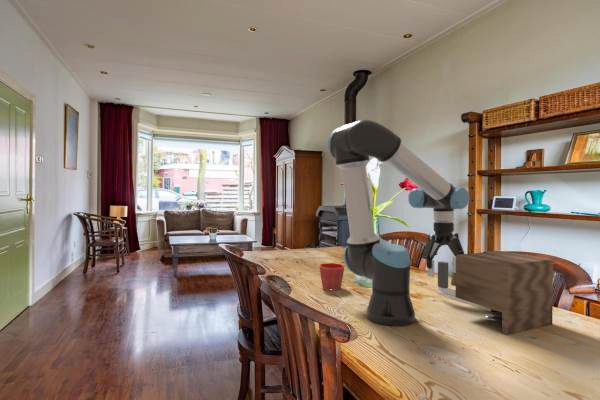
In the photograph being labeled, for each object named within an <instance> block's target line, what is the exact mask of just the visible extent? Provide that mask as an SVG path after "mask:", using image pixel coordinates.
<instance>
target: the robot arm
mask: <svg viewBox="0 0 600 400" xmlns="http://www.w3.org/2000/svg"><path fill="white" fill-rule="evenodd" d="M327 149H328V150H327V151H328V153H329V154H330V155H331V157H332V158H334V159H335V166H336V167H337V168H338V169H340V170H341V171H340V172H341V179H342V185H343V191H344V192H343V194H344V200H345V206H346V207H345V208H346V214H347V220H348V229H349V237H348V239H346V245H347V246H346V247H345V249H344V251H343V263H344V266H345V267H346V269H348V270H349V272H351V273H353V274H355V275H356V276H360V277H364V278H367V279H369V280H371V282H372V284H371V287H372V290H371V292H372V293H371V297H370V299H369V302H368V306H367V308H366V318H367V319H368V320H370V322H371V321H372V322H373V323H377V324H380V325H384V326H392V327H402V326H409V325H411V324H413V323H414V322H416V313H415V310H414V306H413V303H412V300H411V296H410V282H411V281H410V280H411V279H410V278H411V277H410V275H411V259H410V251H409V250H408V249H407V247H405V246H403V245H400V244H396V243H390V242H381V240H380V236H378V235H377V234H376V233H375V228H374V227H375V226H374V220H373V218H374V217H373V212H372V205H371V203H372V202H371V198H370V191H369V190H370V189H369V183H368V173H367V168H366V167H367V165H368V163H369V162H370V157H373V158H374V159H376V160H378V161H379V162H380V163H387V164H388V165H390V166H391V167H392V168H393V169H395V170H396V171H398V172H399V173H400V174H401V175H403V177H405V178H406V179H407V180H409V181H410V182H411V183H413V184H414V185H415V186H416V187H418V188H413V189H411V190H410V191H409V193H408V197H407V199H408V204H409V205H410V206H411V207H412V208H415V209H433V210H432V211H433V231H434V234H428V237H427V238H428V239H427V240H428V241H426V245H425V248H424V250H423V253H422V259H424V260H426V269H427V276H428V277H430V278H435V260H434V257H435V256H436V254H437V253H438V252H439V249H440V248H441V247H443V246H448V248H449V249H450V251H451V253H452V254H453V256H452V261H453V266H452V273H453V272H454V273H456V255H461V254H465V251H464V249H463V246H462V243H461V240H460V237H459V233H458V232H454V231H455V224H454V220H455V217H454V216H455V213H454V212H455V210H463V209H465V208H467V206H468V204H469V202H470V193H469V191H468V190H467V189H466V188H464V187H459V186H457V187H455V186H454V184H452V183H450V182H449V181H447V180H446V179H445V178H444V177H443V176H441V174H439V173H438V172H437V171H436V170H434V169H433V168H432V167H430V166H429V165H428V164H427V163H426V162H424V161H423V160H422V159H421V158H419V157H418V156H417V155H416V154H415V153H414V152H412V151H411V150H410V149H409V148H408V147H406V146H405V145H404V144H403V143H402V139H401V137H399V136H398V134H396V133H395V132H393V131H392V130H391V129H389V128H388V127H386V126H384V125H382V124H381V123H379V122H376V121H374V120H371V119H360V120H356V121H353V122H351V123H348V124H347V123H346V124H344V125H341V126H338V127H337V128H335V129H334V130H333V131H332V132H331V134H329V136H328V140H327Z"/></svg>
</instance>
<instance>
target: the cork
mask: <svg viewBox="0 0 600 400" xmlns="http://www.w3.org/2000/svg"><path fill="white" fill-rule="evenodd" d="M451 266H452V267H453V260H452V261H451ZM451 273H452V274H451V279H450V285H452V286H455V287H456V273H454V272H453V271H452V272H451Z"/></svg>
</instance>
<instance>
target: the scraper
mask: <svg viewBox="0 0 600 400" xmlns="http://www.w3.org/2000/svg"><path fill="white" fill-rule="evenodd" d="M437 287H438V291H436V294H437V295H440V296H443V297H445V298H448V299H451V300H455V301H458V302H461V303H464V304H466V305H470V306H472V307H476V308H479V309H482V310H484V311H488V312H495V311H496V310H493V309H490V308H487V307H484V306H481V305H478V304H474V303H471V302H468V301H465V300H462V299H459V298H456V289H455V290H454V289H451V288H449V262H447V261H444V260H443V261H437ZM496 312H497V311H496Z"/></svg>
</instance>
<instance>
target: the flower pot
mask: <svg viewBox="0 0 600 400" xmlns="http://www.w3.org/2000/svg"><path fill="white" fill-rule="evenodd" d="M344 272H345V264H341V263H335V262H331V263H330V262H328V263H327V262H326V263H321V264H319V273H320V280H321V284H322V285H321V286H322V289H324V288H325V289H324V290H326V289H332V290H331V291H335V290H334V289H339V290H341V288H342V284H343V278H344Z"/></svg>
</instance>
